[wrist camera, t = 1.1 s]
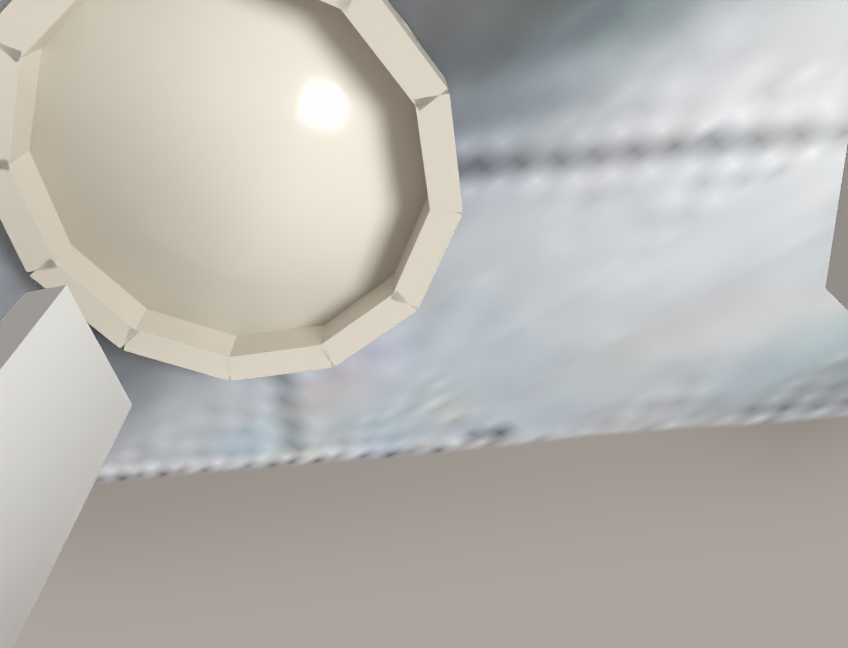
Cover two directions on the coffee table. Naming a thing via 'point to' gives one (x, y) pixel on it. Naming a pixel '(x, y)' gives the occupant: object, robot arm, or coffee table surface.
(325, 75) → the round tray
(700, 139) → the coffee table surface
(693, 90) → the coffee table surface
